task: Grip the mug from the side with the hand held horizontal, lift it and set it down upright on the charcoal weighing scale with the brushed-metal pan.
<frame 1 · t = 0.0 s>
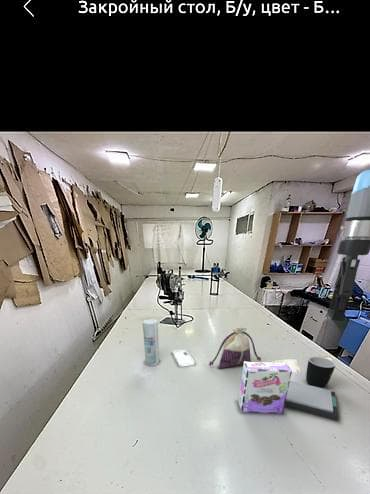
hand: (335, 314, 73), 31 cm above the table, tool pointing down, fingers open, 13 cm apart
mug: (315, 382, 95), on the table
spray can: (152, 362, 110), on the table
scale: (309, 401, 84), on the table
candy box: (259, 408, 80), on the table
pouch: (234, 365, 108), on the table
phone case: (183, 359, 114), on the table
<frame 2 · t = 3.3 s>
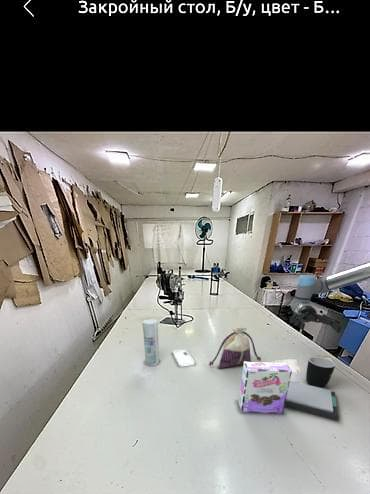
hand: (321, 328, 94), 20 cm above the table, tool horizontal, fingers open, 13 cm apart
nothing on the table moved.
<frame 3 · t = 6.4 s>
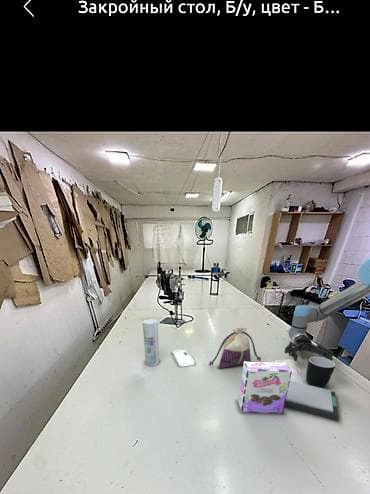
hand: (313, 360, 99), 6 cm above the table, tool horizontal, fingers open, 13 cm apart
nothing on the table moved.
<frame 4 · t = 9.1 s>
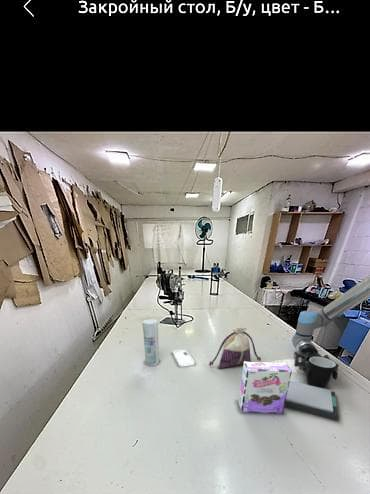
hand: (322, 375, 89), 6 cm above the table, tool horizontal, fingers closed on mug, 9 cm apart
mug: (315, 382, 95), on the table, touching gripper
everything else where it was.
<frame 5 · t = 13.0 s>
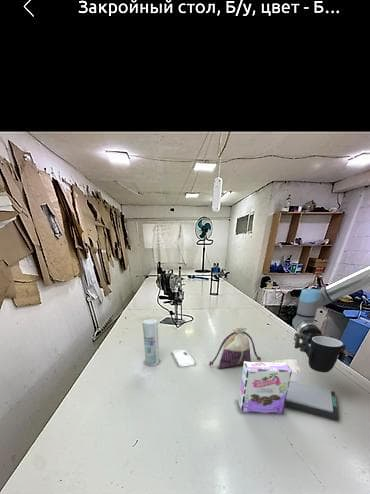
hand: (326, 356, 76), 18 cm above the table, tool horizontal, fingers closed on mug, 9 cm apart
mug: (318, 366, 83), point 12 cm above the table, touching gripper
everything else where it was.
when the fingers open (9 cm above the table, at t = 16.7 s): mug stays where it is, resting on scale.
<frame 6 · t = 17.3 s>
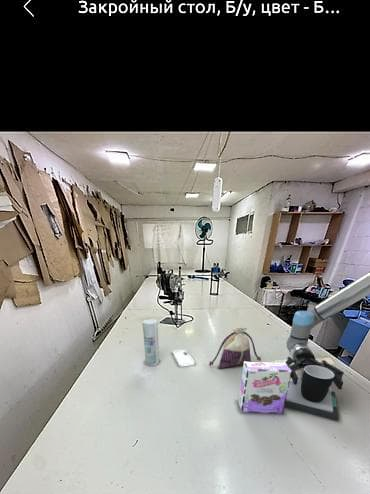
hand: (318, 383, 77), 9 cm above the table, tool horizontal, fingers open, 13 cm apart
mug: (311, 395, 83), point 3 cm above the table, touching scale
everything else where it was.
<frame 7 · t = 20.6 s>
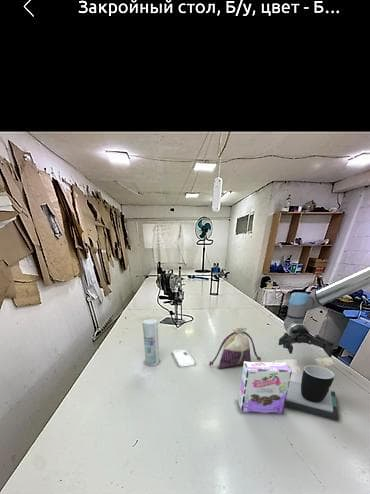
hand: (311, 352, 86), 15 cm above the table, tool horizontal, fingers open, 13 cm apart
nothing on the table moved.
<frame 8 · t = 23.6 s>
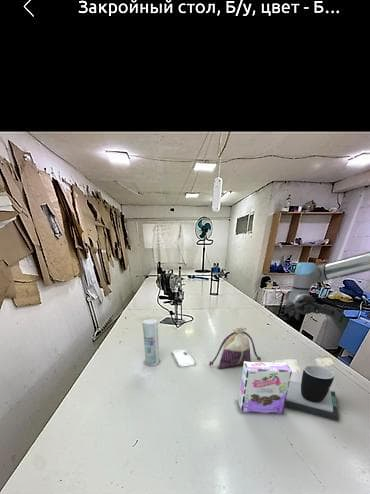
hand: (319, 317, 81), 28 cm above the table, tool horizontal, fingers open, 13 cm apart
nothing on the table moved.
at the end: mug inside the target area on the scale (0.1 cm from its centre), point 2.6 cm above the scale's base; mug tilted 0°; the gripper is holding nothing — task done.
